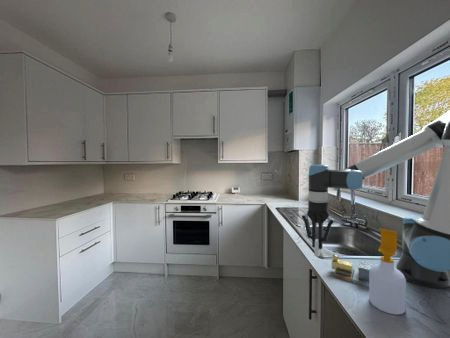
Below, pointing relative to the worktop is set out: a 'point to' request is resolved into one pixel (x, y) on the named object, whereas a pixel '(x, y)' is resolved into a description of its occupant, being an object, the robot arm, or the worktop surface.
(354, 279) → the panel
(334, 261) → the bolt
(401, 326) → the worktop surface
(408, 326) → the worktop surface
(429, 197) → the robot arm
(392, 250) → the soap bottle
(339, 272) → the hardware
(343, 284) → the worktop surface
